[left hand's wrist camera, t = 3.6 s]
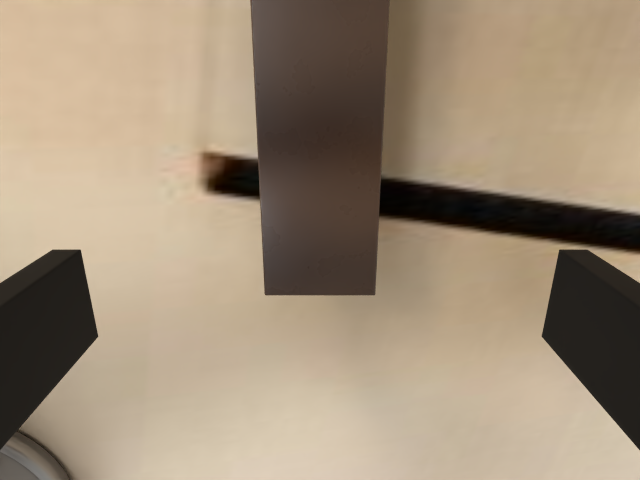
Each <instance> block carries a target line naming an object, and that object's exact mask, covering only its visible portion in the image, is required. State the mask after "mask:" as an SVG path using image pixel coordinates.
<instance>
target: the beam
mask: <svg viewBox="0 0 640 480" xmlns="http://www.w3.org/2000/svg"><path fill="white" fill-rule="evenodd" d="M251 20H252V41H253V61H254V82H255V103H256V123H257V144H258V164H259V185H260V206H261V226H262V247H263V267H264V288H265V295H375V288H376V268H377V247H378V226H379V206H380V185H381V165H382V144H383V123H384V103H385V82H386V61H387V41H388V20H389V0H251Z"/></svg>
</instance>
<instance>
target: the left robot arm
mask: <svg viewBox="0 0 640 480" xmlns="http://www.w3.org/2000/svg"><path fill="white" fill-rule="evenodd" d="M97 337H98V333H97V328H96V323H95V318H94V313H93V308H92V303H91V299H90V294H89V289H88V284H87V279H86V274H85V269H84V264H83V259H82V254H81V250H52V251H50V252H48V253H47V254H45V255H44V256H42V257H41V258H39V259H37V260H36V261H34V262H33V263H31V264H30V265H28V266H26V267H25V268H23V269H22V270H20V271H19V272H17V273H15V274H14V275H12V276H11V277H9V278H8V279H6V280H5V281H3V282H1V283H0V480H70V479H69V477H68V476H67V474H66V472H65V471H64V469H63V468H62V467H61V465H60V464H59V463H58V462H57V461H56V460H55V459H54V457H52V456H51V455H50V454H49V453H48V452H47V451H46V450H45V449H43V448H42V447H41V446H40V445H38V444H37V443H35V442H34V441H33V440H31V439H29V438H28V437H26V436H24V435H23V434H21V433H19V432H17V430H18V429H19V428H20V427H21V425H22V424H23V423H24V422H25V421H26V420H27V419H28V417H29V416H30V415H31V414H32V413H33V412H34V410H35V409H36V408H37V407H38V406H39V405H40V403H41V402H42V401H43V400H44V399H45V398H46V396H47V395H48V394H49V393H50V392H51V391H52V390H53V388H54V387H55V386H56V385H57V384H58V383H59V381H60V380H61V379H62V378H63V377H64V376H65V374H66V373H67V372H68V371H69V370H70V369H71V367H72V366H73V365H74V364H75V363H76V362H77V361H78V359H79V358H80V357H81V356H82V355H83V354H84V352H85V351H86V350H87V349H88V348H89V347H90V345H91V344H92V343H93V342H94V341H95V340H96V338H97ZM542 337H543V338H544V340H545V341H546V342H547V343H548V344H549V345H550V347H551V348H552V349H553V350H554V351H555V352H556V354H557V355H558V356H559V357H560V358H561V359H562V361H563V362H564V363H565V364H566V365H567V366H568V367H569V369H570V370H571V371H572V372H573V373H574V374H575V376H576V377H577V378H578V379H579V380H580V381H581V383H582V384H583V385H584V386H585V387H586V388H587V390H588V391H589V392H590V393H591V394H592V395H593V396H594V398H595V399H596V400H597V401H598V402H599V403H600V405H601V406H602V407H603V408H604V409H605V410H606V412H607V413H608V414H609V415H610V416H611V417H612V419H613V420H614V421H615V422H616V423H617V424H618V425H619V427H620V428H621V429H622V430H623V431H624V432H625V434H626V435H627V436H628V437H629V438H630V439H631V441H632V442H633V443H634V444H635V445H636V446H637V448H638V449H639V450H640V283H639V282H637V281H635V280H634V279H632V278H631V277H629V276H628V275H626V274H625V273H623V272H621V271H620V270H618V269H617V268H615V267H614V266H612V265H610V264H609V263H607V262H606V261H604V260H603V259H601V258H599V257H598V256H596V255H595V254H593V253H592V252H590V251H588V250H559V254H558V259H557V264H556V269H555V274H554V279H553V284H552V289H551V294H550V299H549V303H548V308H547V313H546V318H545V323H544V328H543V333H542Z"/></svg>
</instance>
